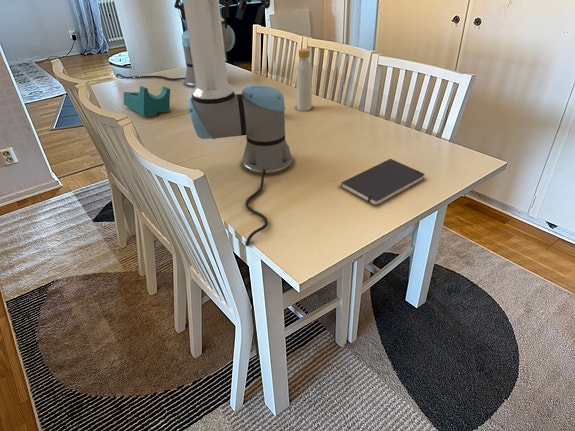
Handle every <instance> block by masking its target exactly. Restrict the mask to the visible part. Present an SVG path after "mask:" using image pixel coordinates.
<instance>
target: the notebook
mask: <svg viewBox="0 0 575 431" xmlns="http://www.w3.org/2000/svg"><path fill="white" fill-rule="evenodd" d="M424 176H425V173H424V172H422V171H420V170H417V169H415V168H413V167H410V166H408V165H406V164H404V163H401V162H399V161H397V160H395V159H393V158H389V159H387V160H385V161H382V162H380V163H379V164H377V165H375V166H372V167H370V168H368V169H366V170H364V171H362V172H360V173H358V174H356V175H353V176H351V177H350V178H348V179H345V180H344V181H341V182H340V183H341V184H340V187H341V188H342V189H344V190H345V191H347V192H349V193H350V194H353V195H355V196H356V197H358V198H360V199H362V200H363V201H365V202H367V203H369V204H371V205H373V206H379V205H381V204H382V203H384V202H386V201H388V200H390V199H391V198H393V197H395V196H397V195H398V194H400V193H402V192H404V191H406V190H407V189H409V188H411V187H413V186H415V185H416V184H418V183H420V182H422V181H423V180H424Z"/></svg>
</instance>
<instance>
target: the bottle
mask: <svg viewBox="0 0 575 431" xmlns="http://www.w3.org/2000/svg"><path fill="white" fill-rule="evenodd" d="M295 71H296V72H295V73H296V74H295V76H296V77H295V78H296V110H298V111H300V112H304V111H305V112H307V111H310V110H311V109H312V100H313V99H312V98H313V97H312V94H313V92H312V90H313V66H312V64H311V62H310V60H309V57H308V58H300V59H299V61H298V63H297V64H296V68H295Z"/></svg>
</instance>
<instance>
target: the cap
mask: <svg viewBox="0 0 575 431" xmlns="http://www.w3.org/2000/svg"><path fill="white" fill-rule="evenodd" d="M298 58H300V59H301V58H308V59H309V58H310V49H309V48H299V49H298Z"/></svg>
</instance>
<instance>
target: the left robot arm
mask: <svg viewBox="0 0 575 431" xmlns="http://www.w3.org/2000/svg"><path fill="white" fill-rule="evenodd" d="M259 2H260V5H259V6H258V9H257V13H256V16H255V19H254V23H256V24H258V25H260V26H261V25H262V23H263V22H262V21H263V19H264V16H265V13H266V9H269V8H270V7H271V0H260V1H259ZM247 3H248V1H247V0H239V1H238V5H237V11H236V15H235V18H236V19H238V20H243V18H244V15H245V10H246V7H247ZM221 25H222V34H223V43H224V52H225V53H227V52H230V51H231V50H232V49H233V48H234V45H235V42H236V36H235V32H234V30H233V28H231V26H230V25H229V24H227V28H225V24H224V17H221ZM181 44H182V47H183V53H184V59H185V66H186V68H185V69H186V70H185V77H174V78H173V77H167V76H165V75H136V76H135V75H134V76H124V75H122V74H121V73H117V74H116V75H115V77H116V78H118V77H121V78H122V79H127V80H128V79H129V80H130V79H142V78H144V79H145V78H146V79H147V78H158V79H164V80H169V81H181V80H184V83H185V86H187V87H190V88H195V87H196V82H195V75H194V69H193V62H192V56H191V49H190V43H189V36H188V31H187V29H186V30H185V31H183V33H182V34H181ZM139 76H140V77H139ZM133 77H135V78H133Z"/></svg>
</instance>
